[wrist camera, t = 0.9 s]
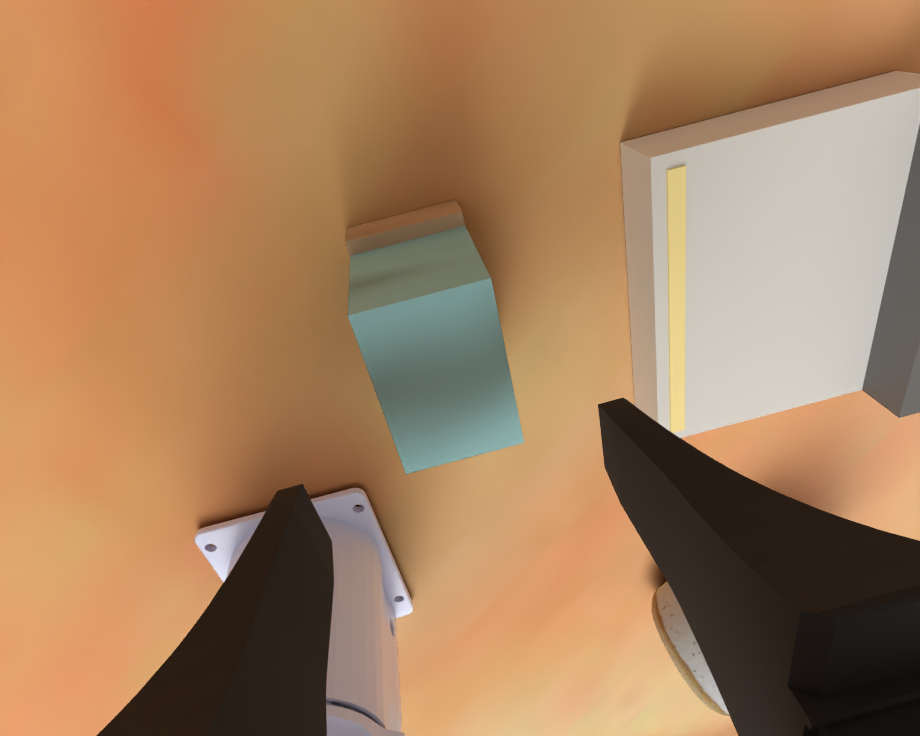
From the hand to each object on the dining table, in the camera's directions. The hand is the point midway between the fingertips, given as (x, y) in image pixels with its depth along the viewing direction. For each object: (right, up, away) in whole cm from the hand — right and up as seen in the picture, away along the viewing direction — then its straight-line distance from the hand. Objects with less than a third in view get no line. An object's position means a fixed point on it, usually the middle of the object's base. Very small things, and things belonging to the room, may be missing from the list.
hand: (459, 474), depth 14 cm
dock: (+12, +7, +10) cm, 17 cm away
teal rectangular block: (-1, +5, +8) cm, 10 cm away
